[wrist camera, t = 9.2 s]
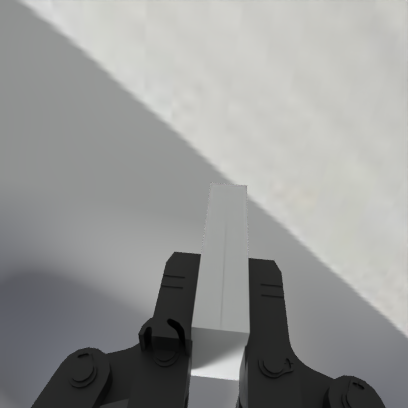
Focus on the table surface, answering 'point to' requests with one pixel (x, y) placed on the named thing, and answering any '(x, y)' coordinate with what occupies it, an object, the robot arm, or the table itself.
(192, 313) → the robot arm
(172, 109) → the table surface
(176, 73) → the table surface
